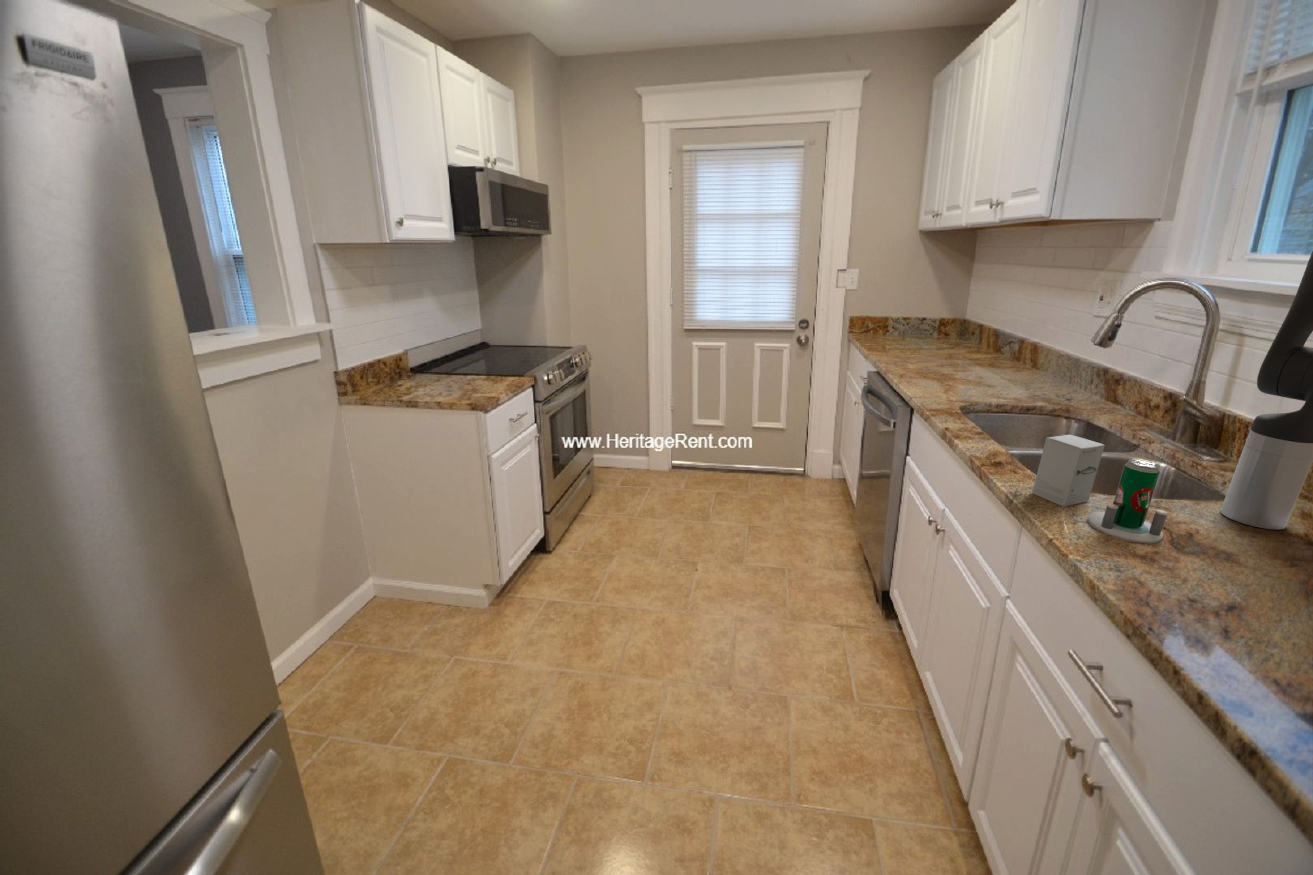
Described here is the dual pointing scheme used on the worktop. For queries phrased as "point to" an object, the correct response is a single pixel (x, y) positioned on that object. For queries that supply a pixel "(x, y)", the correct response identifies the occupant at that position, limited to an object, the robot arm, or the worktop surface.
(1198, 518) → the worktop surface
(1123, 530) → the pin socket
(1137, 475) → the soda can
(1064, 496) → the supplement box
